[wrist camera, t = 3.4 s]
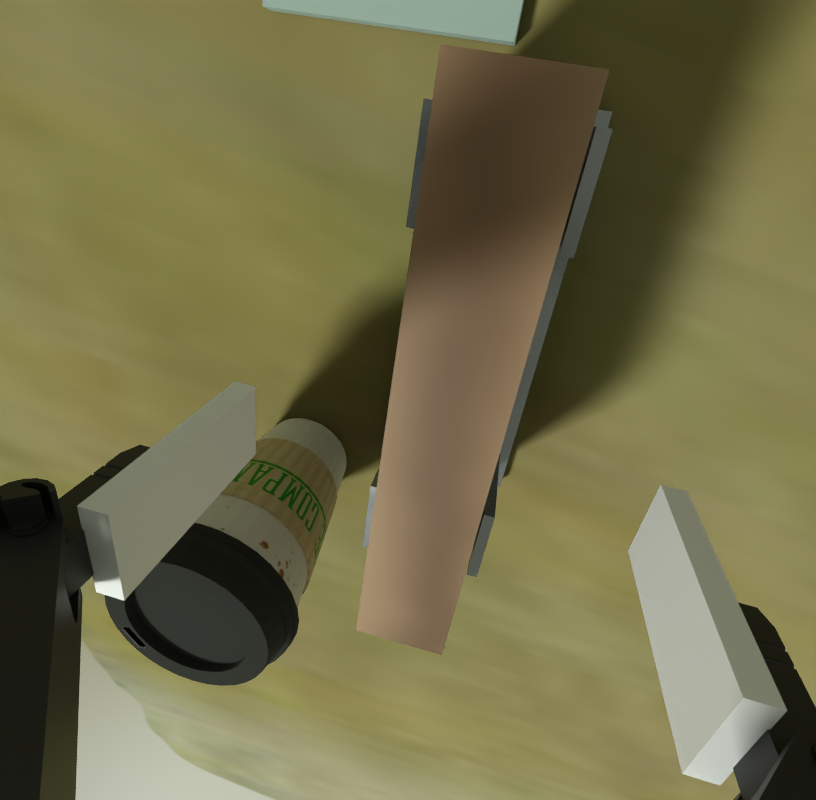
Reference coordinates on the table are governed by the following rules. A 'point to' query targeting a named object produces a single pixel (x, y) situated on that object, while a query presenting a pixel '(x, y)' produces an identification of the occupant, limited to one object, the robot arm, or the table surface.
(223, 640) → the coffee cup
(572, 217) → the standards
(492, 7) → the mat
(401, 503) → the rail
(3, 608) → the robot arm
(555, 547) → the table surface
